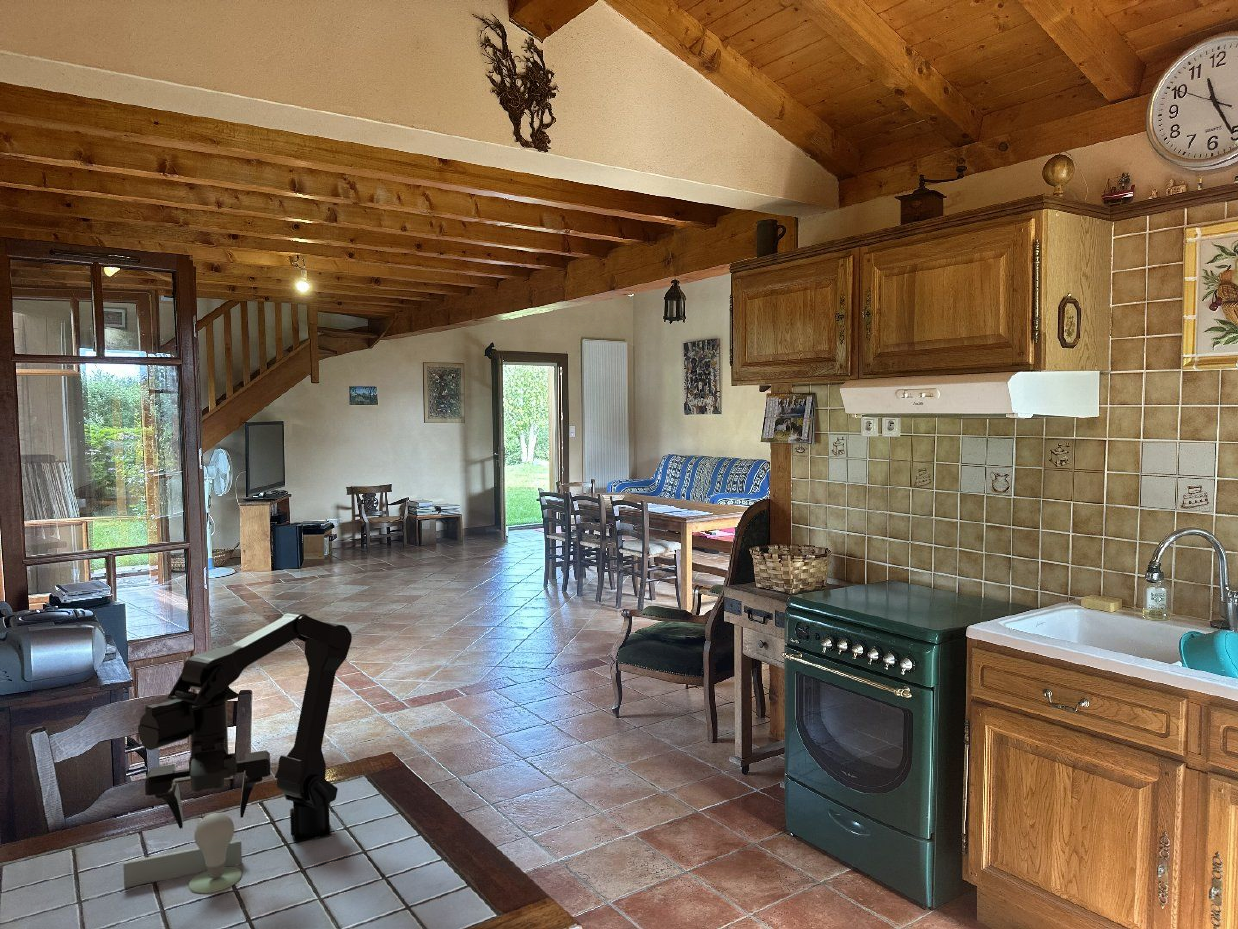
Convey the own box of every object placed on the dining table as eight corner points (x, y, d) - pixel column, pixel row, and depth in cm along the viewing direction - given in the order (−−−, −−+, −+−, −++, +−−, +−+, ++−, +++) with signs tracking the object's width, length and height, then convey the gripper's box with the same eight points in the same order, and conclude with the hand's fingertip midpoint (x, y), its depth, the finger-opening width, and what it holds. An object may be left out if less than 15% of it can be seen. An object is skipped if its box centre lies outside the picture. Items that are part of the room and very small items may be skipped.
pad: (241, 864, 148) (241, 863, 148) (240, 886, 140) (240, 884, 140) (190, 875, 144) (190, 873, 144) (187, 898, 137) (187, 896, 137)
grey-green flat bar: (242, 861, 149) (241, 839, 148) (241, 863, 148) (241, 841, 148) (125, 885, 141) (124, 862, 141) (124, 887, 141) (123, 864, 141)
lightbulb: (221, 889, 139) (218, 823, 139) (187, 887, 140) (185, 821, 140) (243, 870, 145) (241, 807, 145) (211, 868, 146) (209, 806, 146)
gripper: (139, 755, 130) (142, 855, 131) (269, 737, 138) (272, 831, 138) (147, 733, 141) (151, 825, 141) (268, 717, 148) (271, 804, 148)
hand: (211, 822), depth 142 cm, fingers open, 9 cm apart
